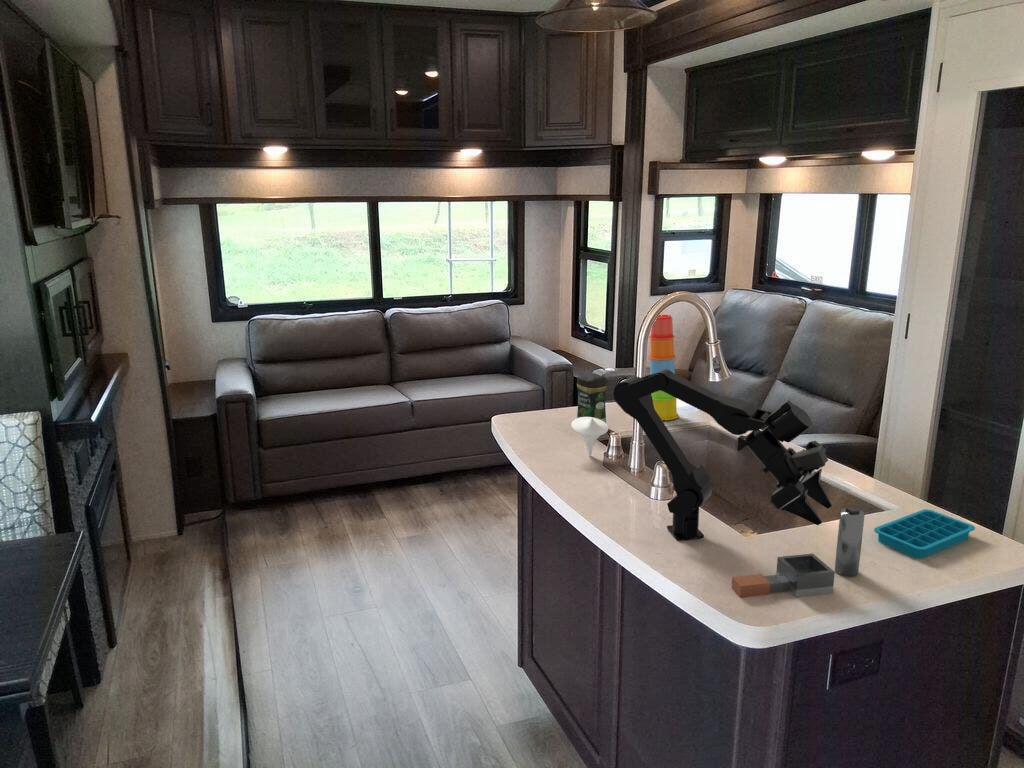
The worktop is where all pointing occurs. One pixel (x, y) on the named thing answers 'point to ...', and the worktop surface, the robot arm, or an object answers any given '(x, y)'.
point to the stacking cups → (663, 364)
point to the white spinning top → (589, 430)
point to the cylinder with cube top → (849, 542)
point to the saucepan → (789, 578)
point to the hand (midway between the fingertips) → (825, 515)
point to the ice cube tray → (923, 533)
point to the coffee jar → (591, 396)
